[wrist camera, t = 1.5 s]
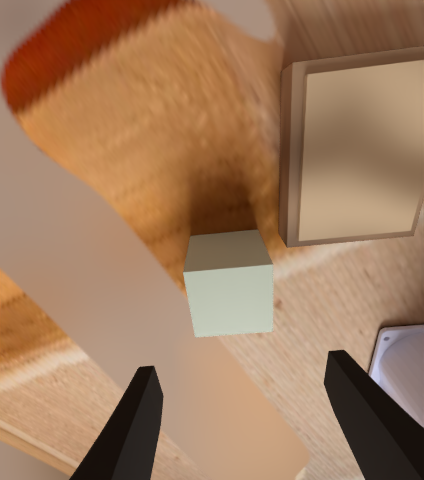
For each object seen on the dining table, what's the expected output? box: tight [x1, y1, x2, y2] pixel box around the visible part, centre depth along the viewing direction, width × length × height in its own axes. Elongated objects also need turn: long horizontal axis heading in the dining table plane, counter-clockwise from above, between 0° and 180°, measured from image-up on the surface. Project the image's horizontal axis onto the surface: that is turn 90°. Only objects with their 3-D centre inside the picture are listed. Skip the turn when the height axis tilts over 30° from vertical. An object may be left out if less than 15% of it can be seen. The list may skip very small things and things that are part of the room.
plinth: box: [279, 46, 424, 248], centre depth 14 cm, size 10×8×3 cm
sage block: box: [183, 229, 273, 337], centre depth 17 cm, size 5×5×5 cm
